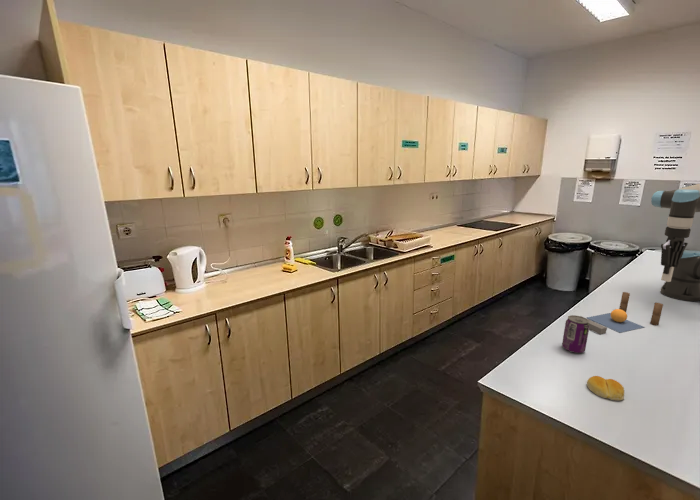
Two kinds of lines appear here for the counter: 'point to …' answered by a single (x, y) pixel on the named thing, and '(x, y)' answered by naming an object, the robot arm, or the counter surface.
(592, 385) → the bread roll
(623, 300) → the post
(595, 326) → the stopper
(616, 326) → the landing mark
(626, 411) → the counter surface
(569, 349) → the beverage can
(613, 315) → the ball
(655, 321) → the post
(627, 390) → the counter surface
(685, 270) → the robot arm
